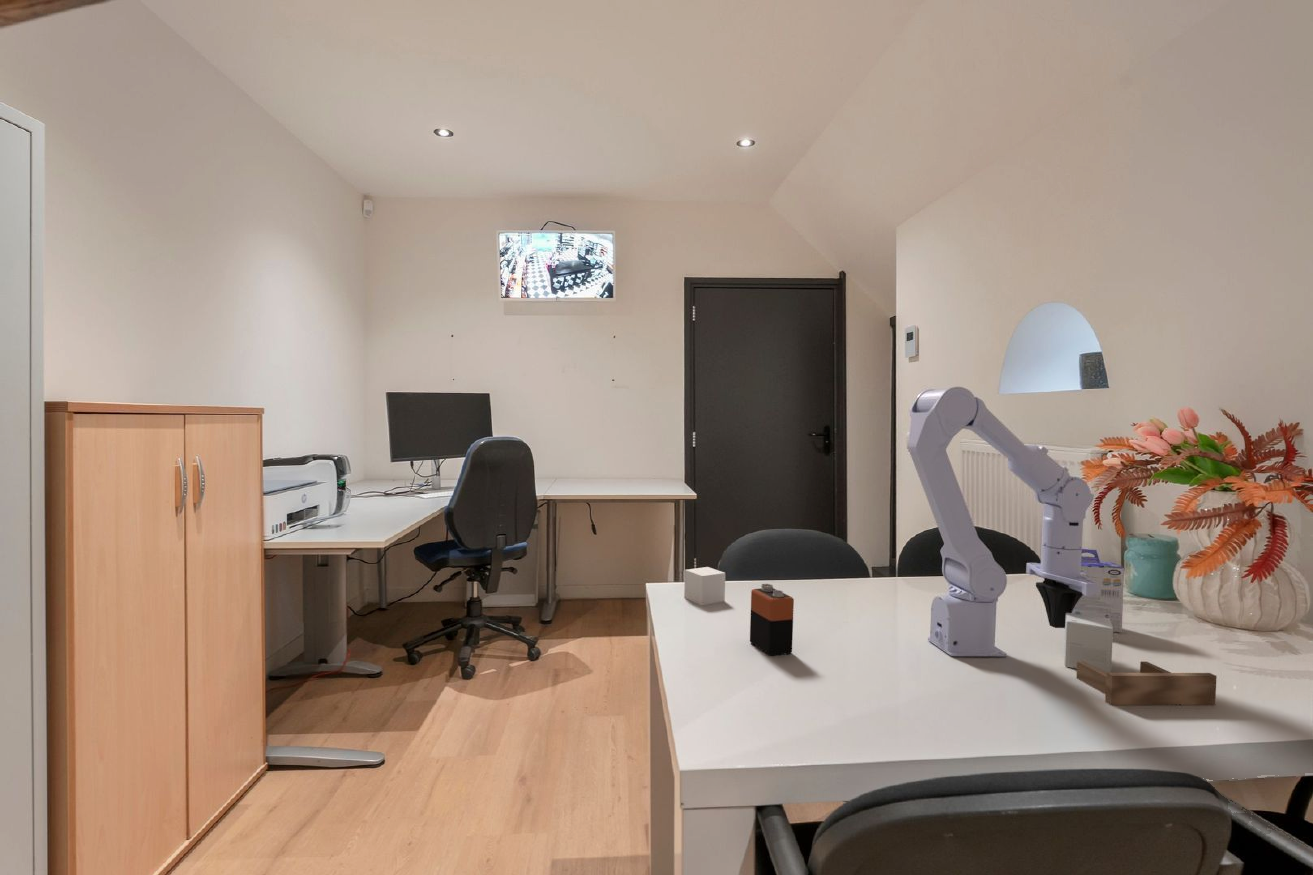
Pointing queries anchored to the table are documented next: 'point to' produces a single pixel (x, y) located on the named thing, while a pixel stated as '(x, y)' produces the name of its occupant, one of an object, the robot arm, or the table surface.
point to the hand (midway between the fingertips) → (1057, 626)
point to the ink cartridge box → (1102, 590)
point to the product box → (1088, 641)
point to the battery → (771, 620)
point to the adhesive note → (704, 585)
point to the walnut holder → (1150, 686)
